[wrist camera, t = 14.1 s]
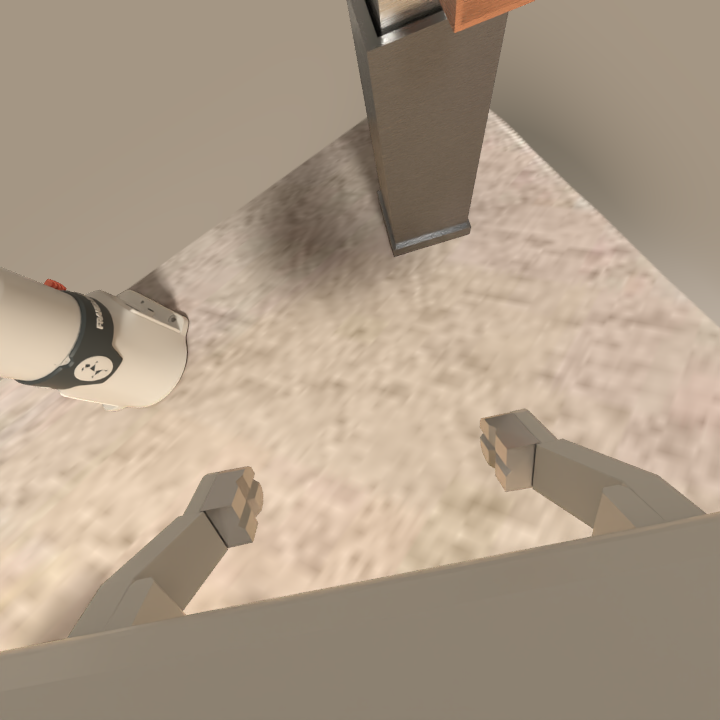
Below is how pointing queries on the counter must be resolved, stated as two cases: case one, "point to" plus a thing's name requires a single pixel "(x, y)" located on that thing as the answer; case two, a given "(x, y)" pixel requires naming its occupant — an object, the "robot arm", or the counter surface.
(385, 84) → the sleeve
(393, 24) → the layered grey-topped block
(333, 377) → the counter surface
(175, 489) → the counter surface
